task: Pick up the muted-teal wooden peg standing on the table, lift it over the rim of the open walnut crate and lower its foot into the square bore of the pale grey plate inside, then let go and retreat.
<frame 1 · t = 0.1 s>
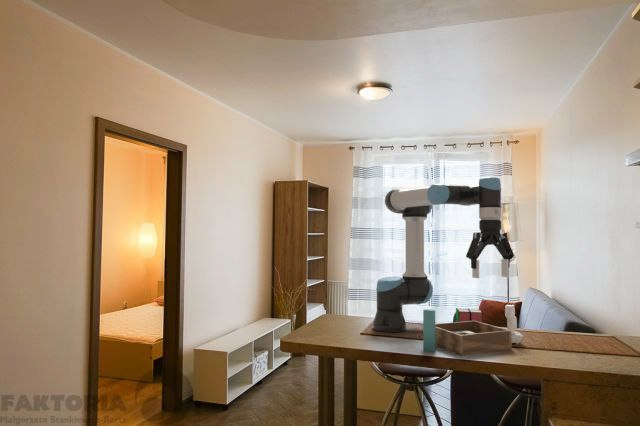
hand: (490, 277, 156), 28 cm above the table, fingers open, 13 cm apart
teal peg: (429, 350, 160), on the table
figurine: (511, 342, 173), on the table
crate: (468, 345, 167), on the table
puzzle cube: (468, 333, 190), on the table
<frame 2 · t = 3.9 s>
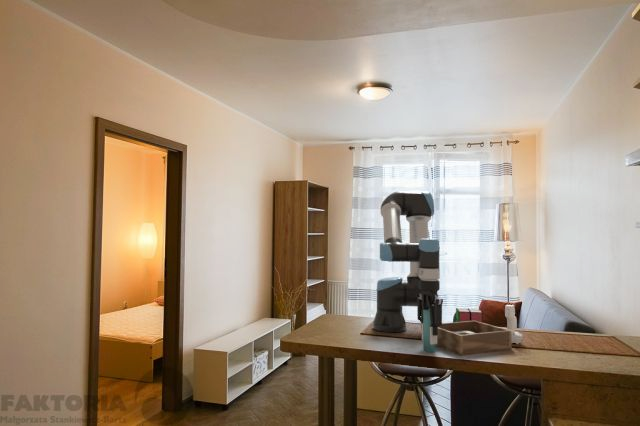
hand: (429, 342, 160), 3 cm above the table, fingers closed on teal peg, 4 cm apart
teal peg: (429, 350, 160), on the table, touching gripper
everything else where it was.
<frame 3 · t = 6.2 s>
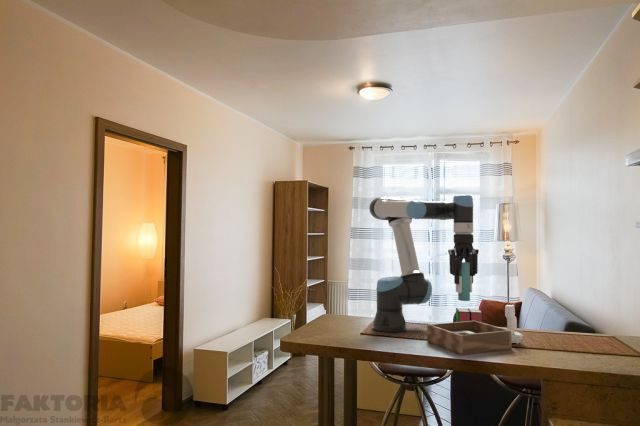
hand: (463, 292, 170), 21 cm above the table, fingers closed on teal peg, 4 cm apart
teal peg: (464, 300, 170), point 17 cm above the table, touching gripper
everything else where it was.
when the fingers open (6 cm above the table, at t = 8.5 s): teal peg stays where it is, resting on crate.
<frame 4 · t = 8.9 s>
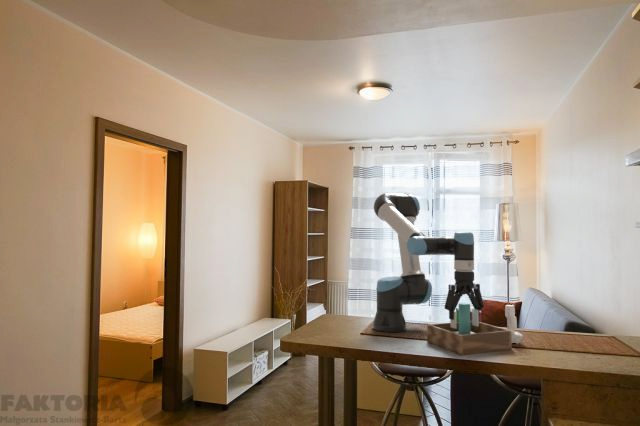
hand: (464, 326, 170), 7 cm above the table, fingers open, 10 cm apart
teal peg: (464, 342, 169), point 1 cm above the table, touching crate
everything else where it was.
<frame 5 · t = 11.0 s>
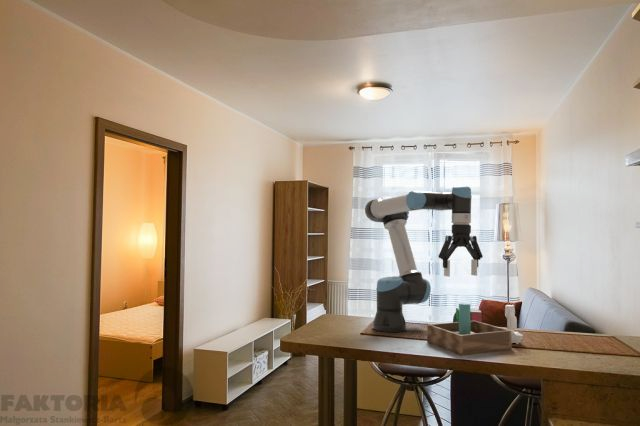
hand: (460, 275, 175), 27 cm above the table, fingers open, 13 cm apart
nothing on the table moved.
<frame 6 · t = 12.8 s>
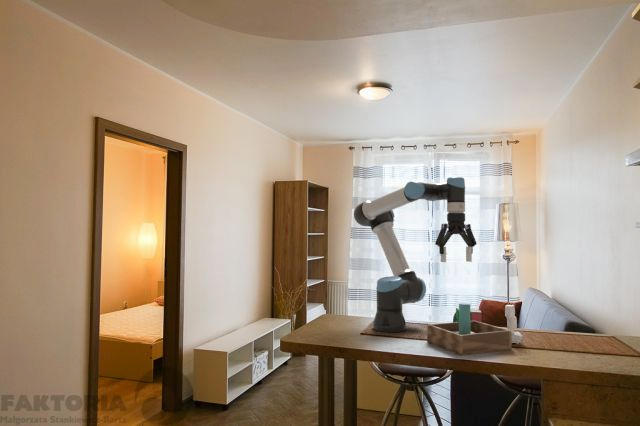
hand: (456, 261, 184), 32 cm above the table, fingers open, 13 cm apart
nothing on the table moved.
at the end: teal peg 0.0 cm from the target spot on the crate, point 0.8 cm above the crate's base; teal peg tilted 0°; the gripper is holding nothing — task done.
